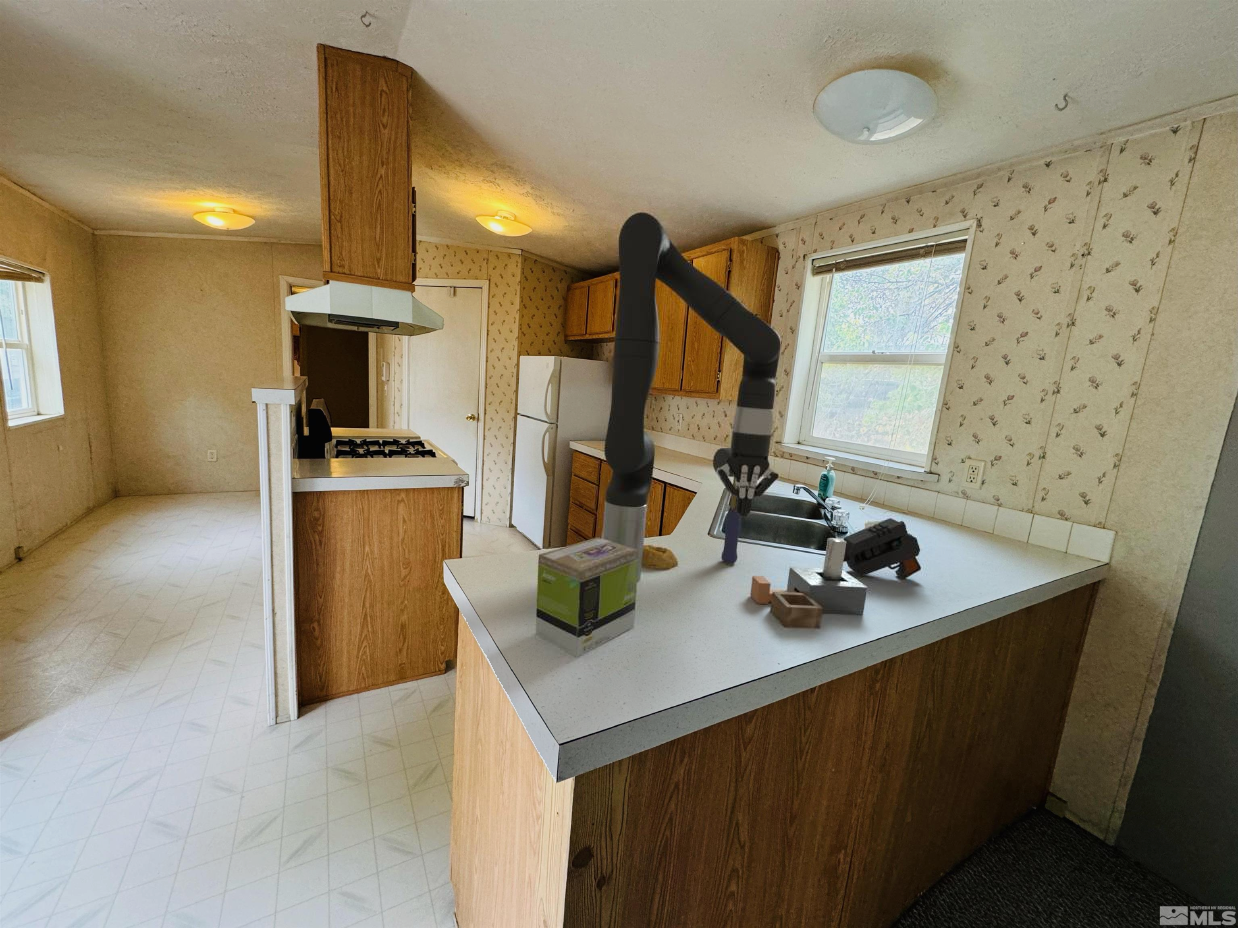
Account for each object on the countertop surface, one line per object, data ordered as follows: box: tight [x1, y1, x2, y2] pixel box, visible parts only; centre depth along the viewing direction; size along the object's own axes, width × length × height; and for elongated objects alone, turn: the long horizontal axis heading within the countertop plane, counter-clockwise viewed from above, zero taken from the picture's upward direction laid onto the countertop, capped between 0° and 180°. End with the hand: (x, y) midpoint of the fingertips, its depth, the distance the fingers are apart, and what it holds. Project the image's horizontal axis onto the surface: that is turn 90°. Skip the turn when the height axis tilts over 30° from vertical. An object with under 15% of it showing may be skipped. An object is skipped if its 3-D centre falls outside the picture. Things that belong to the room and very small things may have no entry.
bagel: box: [642, 544, 679, 570], centre depth 121 cm, size 10×11×5 cm
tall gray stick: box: [822, 537, 846, 582], centre depth 104 cm, size 4×4×14 cm
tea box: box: [535, 536, 639, 658], centre depth 84 cm, size 15×10×15 cm, turn 141°
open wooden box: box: [769, 592, 823, 629], centre depth 96 cm, size 7×7×4 cm
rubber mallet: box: [712, 447, 742, 566], centre depth 123 cm, size 12×8×30 cm, turn 113°
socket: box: [786, 566, 868, 616], centre depth 105 cm, size 12×10×6 cm
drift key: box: [749, 575, 797, 605], centre depth 104 cm, size 9×4×4 cm, turn 95°
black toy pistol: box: [843, 517, 922, 580], centre depth 125 cm, size 6×19×15 cm, turn 89°
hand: (741, 515), depth 101 cm, fingers closed
